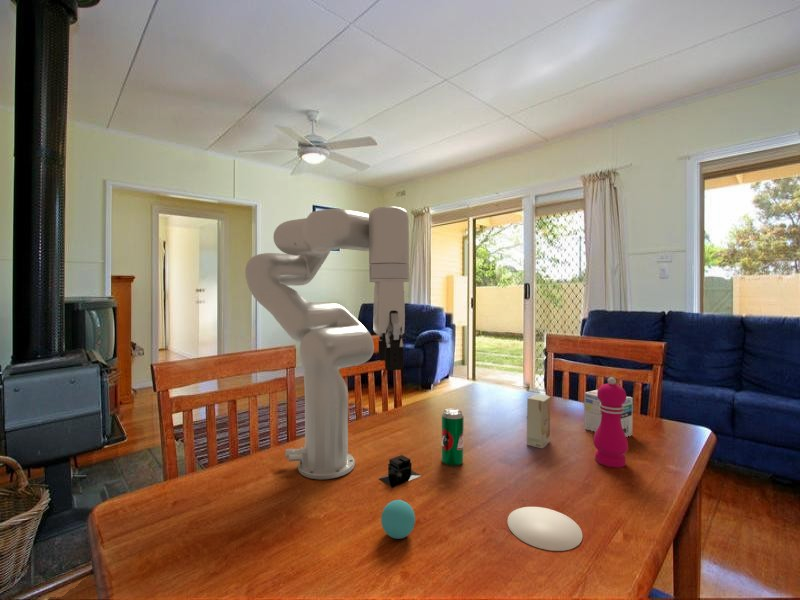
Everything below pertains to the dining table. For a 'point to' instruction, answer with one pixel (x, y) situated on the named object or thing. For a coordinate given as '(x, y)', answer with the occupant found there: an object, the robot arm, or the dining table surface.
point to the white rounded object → (544, 528)
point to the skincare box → (538, 420)
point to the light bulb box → (594, 414)
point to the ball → (398, 519)
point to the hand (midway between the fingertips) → (390, 364)
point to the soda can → (452, 437)
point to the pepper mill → (611, 426)
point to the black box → (399, 471)
